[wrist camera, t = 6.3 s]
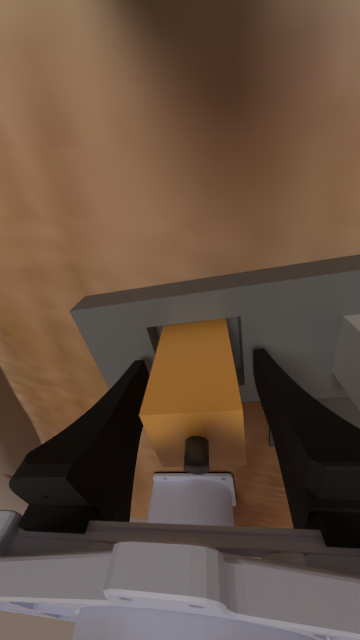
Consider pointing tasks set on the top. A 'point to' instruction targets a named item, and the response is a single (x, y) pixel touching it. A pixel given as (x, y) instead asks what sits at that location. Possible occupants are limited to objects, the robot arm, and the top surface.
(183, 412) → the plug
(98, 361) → the grey panel with knob
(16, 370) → the top surface
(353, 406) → the mat
